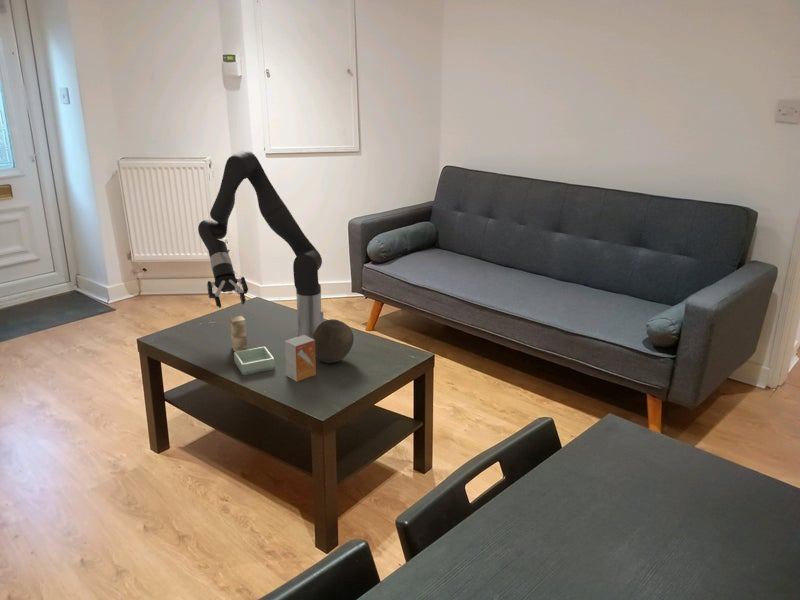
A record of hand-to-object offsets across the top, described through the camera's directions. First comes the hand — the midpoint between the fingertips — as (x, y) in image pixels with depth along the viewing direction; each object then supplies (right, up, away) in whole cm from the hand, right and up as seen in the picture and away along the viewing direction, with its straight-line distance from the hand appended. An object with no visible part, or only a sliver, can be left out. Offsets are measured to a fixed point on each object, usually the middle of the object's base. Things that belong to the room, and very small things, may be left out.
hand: (231, 305), depth 246 cm
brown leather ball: (+38, -20, -9) cm, 44 cm away
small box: (+29, -24, -20) cm, 42 cm away
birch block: (+3, -16, -1) cm, 16 cm away
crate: (+11, -21, -14) cm, 28 cm away
